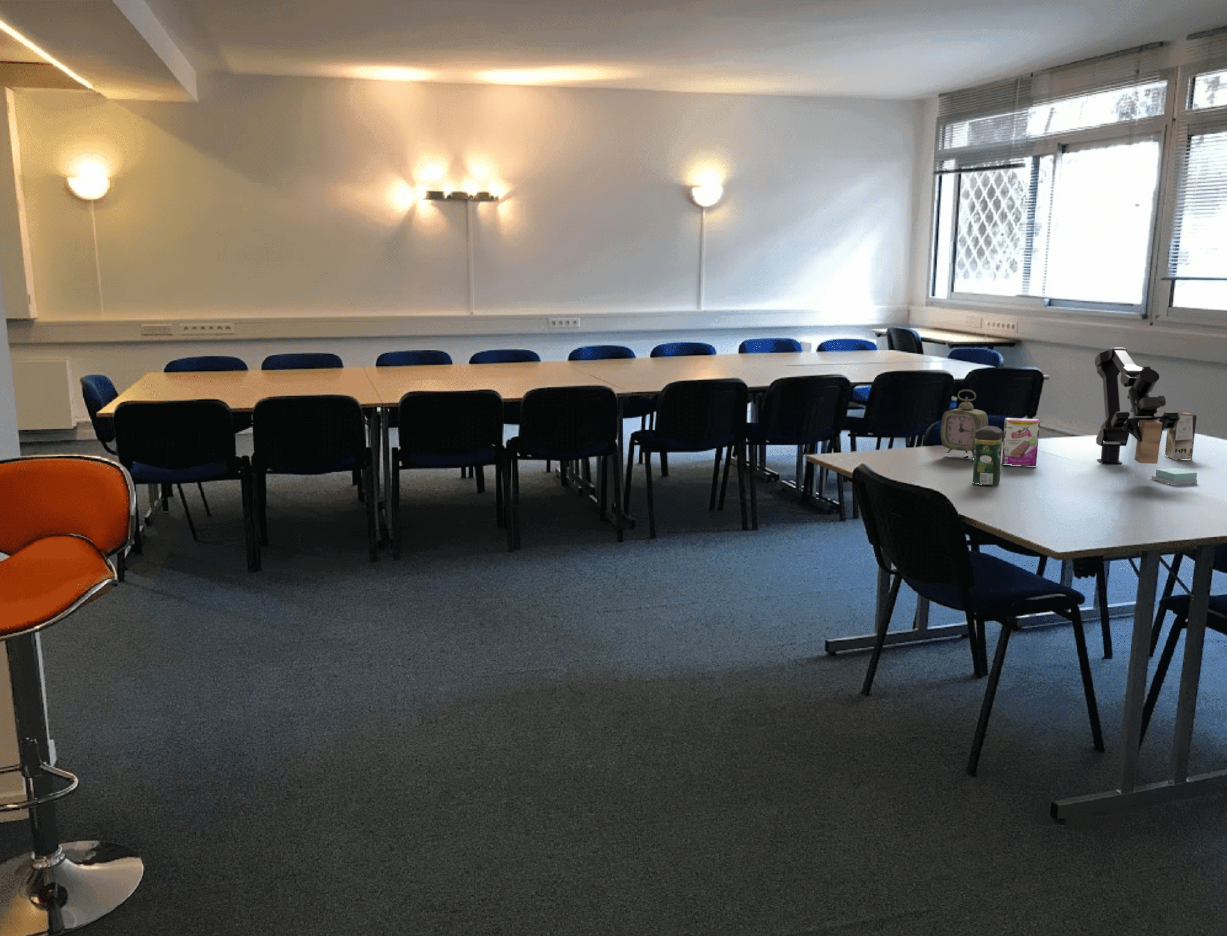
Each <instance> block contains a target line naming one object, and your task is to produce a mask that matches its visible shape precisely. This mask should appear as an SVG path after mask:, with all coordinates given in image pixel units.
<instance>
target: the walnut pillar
mask: <svg viewBox="0 0 1227 936" xmlns="http://www.w3.org/2000/svg"><path fill="white" fill-rule="evenodd" d="M1138 427H1139V430H1140V433H1141V437H1142V442H1139V441H1138V440H1137V439H1136V446H1135V454H1134V455H1135V456H1134V461H1136V462H1138V463H1139V464H1154V465H1157V464H1158V461H1159V455H1160V453H1159V452H1160V447H1161V446H1160V444H1161V441H1160V438H1161V439H1162V436H1161V431H1162V423H1161V422H1159V421H1157V420H1139V423H1138ZM1162 432H1163V431H1162Z"/></svg>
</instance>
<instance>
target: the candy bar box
mask: <svg viewBox="0 0 1227 936" xmlns="http://www.w3.org/2000/svg"><path fill="white" fill-rule="evenodd" d="M1040 423H1041V421H1040V419H1039V418H1038V419H1037V418H1017V417H1016V418H1015V417H1005V418H1004V426H1003V427H1004V428H1003V438H1002V450H1001V465H1002V464H1012V465H1021V466H1036V467H1037V459H1038V450H1039V449H1038V446H1039V436H1040V435H1039V434H1040Z"/></svg>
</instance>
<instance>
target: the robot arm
mask: <svg viewBox="0 0 1227 936" xmlns="http://www.w3.org/2000/svg"><path fill="white" fill-rule="evenodd" d="M1094 366H1095V367H1096V373H1097V374H1098V375H1099V376H1100V377H1101V379H1102V386H1103V388H1102V389H1103V401H1104V414H1105V415H1104V416H1105V417H1104V420H1103V422H1102V423H1101V425H1100V430H1099V432H1098V434H1097V435H1096V437H1095V438H1096V439H1095V443H1096V444H1095V445H1098V446H1100V447H1101V451H1100V458H1097V460H1096V461H1097V462H1098V463H1101V464H1104V465H1106V464H1107V465H1108V464H1109V465H1110V464H1111V465H1123V462H1122V461H1121V460H1120V451H1121V447H1126V446H1127V444H1128V441H1129V436H1130V435H1132V437H1134V439H1136V441H1137V440H1138V441H1139V442H1142V437H1141V433H1140V430H1139V420H1157V421H1159V422H1161V423H1162V431H1161V438H1160V442H1161V440H1162V436H1163V431H1165V429H1166V430H1167V429H1172V428H1174V427H1175V426H1176V424H1177V422H1178V421H1179V419H1180V416H1179V414H1178V413H1177V412H1178V411H1163V414H1162V416H1156V415H1155V414H1157V413H1158V409H1160V408H1162V407H1165V406H1166V403H1167V402H1166V396H1165V395H1158V396H1150V393H1151V392H1152V391H1154V388H1155V387H1156V384H1157V383H1158V382H1159V379H1160V373H1158V372H1157V371H1156V370H1154V369H1152V368H1151V366H1143V367H1142V366H1140V365H1139V366H1138V365H1136V363H1135V362H1134V361H1133V359H1132V358H1131V356H1130V355H1129V353H1128V350H1127V348H1125V347H1112V348H1109V349H1108V350H1106V351H1102V352H1099V353H1098V354H1097V355H1096V356H1095V357H1094ZM1119 374H1121V375H1120V384H1121V385H1122V386H1123V387H1124V388H1129V389H1128V391H1127V397H1126V398H1127V399H1128V400H1129V403H1130V406H1131V408H1130V412H1129V411H1121V403H1120V390H1119V378H1118V377H1119ZM1130 413H1132V414H1130Z"/></svg>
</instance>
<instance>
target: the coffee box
mask: <svg viewBox="0 0 1227 936" xmlns="http://www.w3.org/2000/svg"><path fill="white" fill-rule="evenodd" d="M1176 412H1177V413H1178V414H1179V416H1180V419H1179V421H1178V422H1177V424H1176V426H1175V427H1174V428H1172V429H1166V438H1165V450H1164V456H1165V455H1166V456H1165V457H1167V456H1168V457H1167V458H1169V457H1170V458H1169V459H1171V458H1172V459H1171V460H1173V459H1191V461H1193V454H1194V447H1195V446H1194V444H1195V443H1194V442H1195V435H1196V428H1197V427H1196V425H1197V419H1198V418H1197V417H1198V416H1197V415H1196V414H1194V413H1192V412H1189V411H1176Z"/></svg>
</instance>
